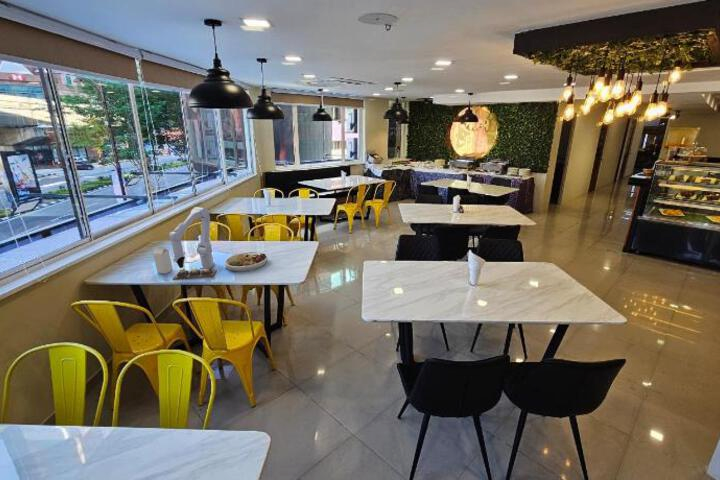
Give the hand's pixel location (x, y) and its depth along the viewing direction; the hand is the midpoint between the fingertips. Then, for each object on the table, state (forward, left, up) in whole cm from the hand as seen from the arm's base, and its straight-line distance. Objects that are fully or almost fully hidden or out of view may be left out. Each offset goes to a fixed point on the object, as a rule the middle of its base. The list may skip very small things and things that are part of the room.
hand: (181, 267), depth 242 cm
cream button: (0, +8, -4) cm, 9 cm away
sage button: (0, 0, -4) cm, 4 cm away
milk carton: (-12, -17, -7) cm, 22 cm away
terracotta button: (0, +16, -5) cm, 17 cm away
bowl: (-15, +40, -7) cm, 43 cm away
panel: (-1, +8, -7) cm, 11 cm away
